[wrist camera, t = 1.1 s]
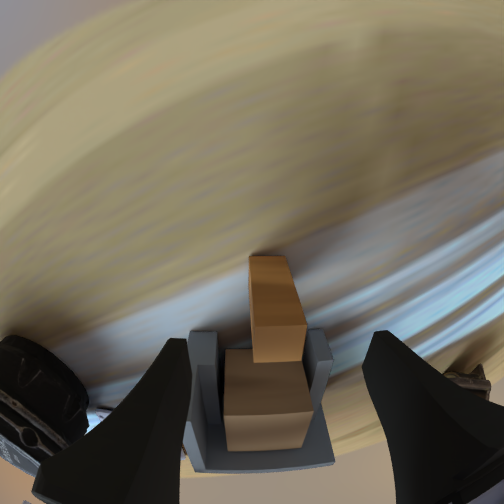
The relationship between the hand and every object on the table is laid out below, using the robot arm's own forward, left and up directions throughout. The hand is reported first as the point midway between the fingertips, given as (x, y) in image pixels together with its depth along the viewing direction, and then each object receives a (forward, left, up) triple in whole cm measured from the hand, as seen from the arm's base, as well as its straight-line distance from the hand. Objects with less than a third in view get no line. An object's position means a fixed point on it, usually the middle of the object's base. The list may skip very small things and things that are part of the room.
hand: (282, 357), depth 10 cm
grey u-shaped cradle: (-9, 0, -7) cm, 11 cm away
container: (-13, +22, -7) cm, 26 cm away
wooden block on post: (-5, 0, -7) cm, 8 cm away
